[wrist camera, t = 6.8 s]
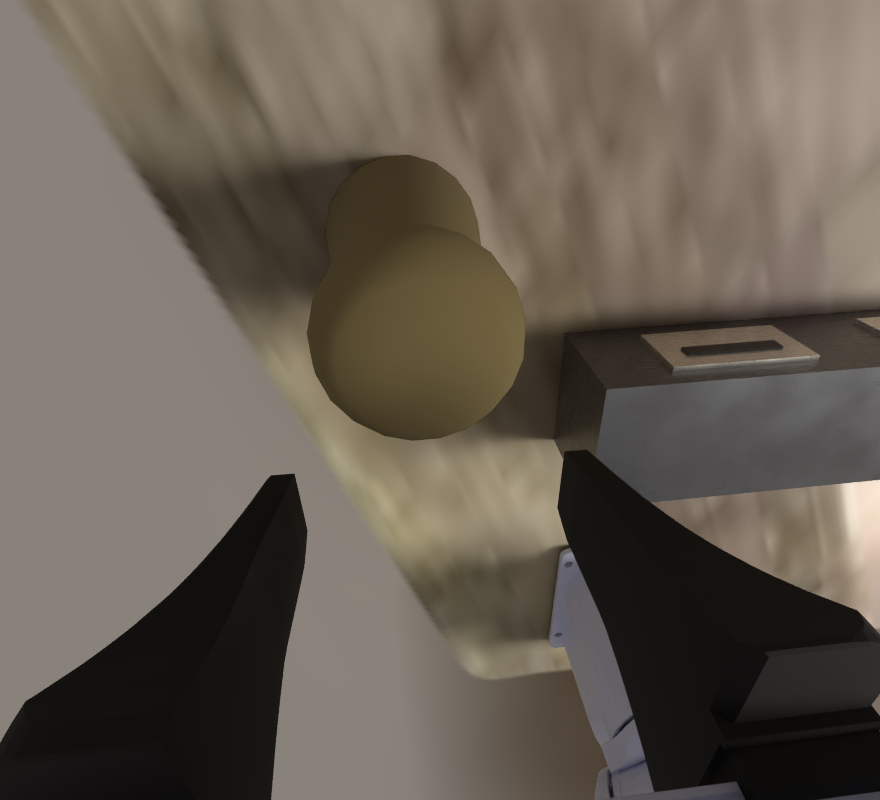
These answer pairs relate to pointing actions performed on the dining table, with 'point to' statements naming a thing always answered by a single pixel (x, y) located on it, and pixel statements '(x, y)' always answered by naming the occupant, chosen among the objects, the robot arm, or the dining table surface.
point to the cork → (412, 305)
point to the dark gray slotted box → (726, 404)
